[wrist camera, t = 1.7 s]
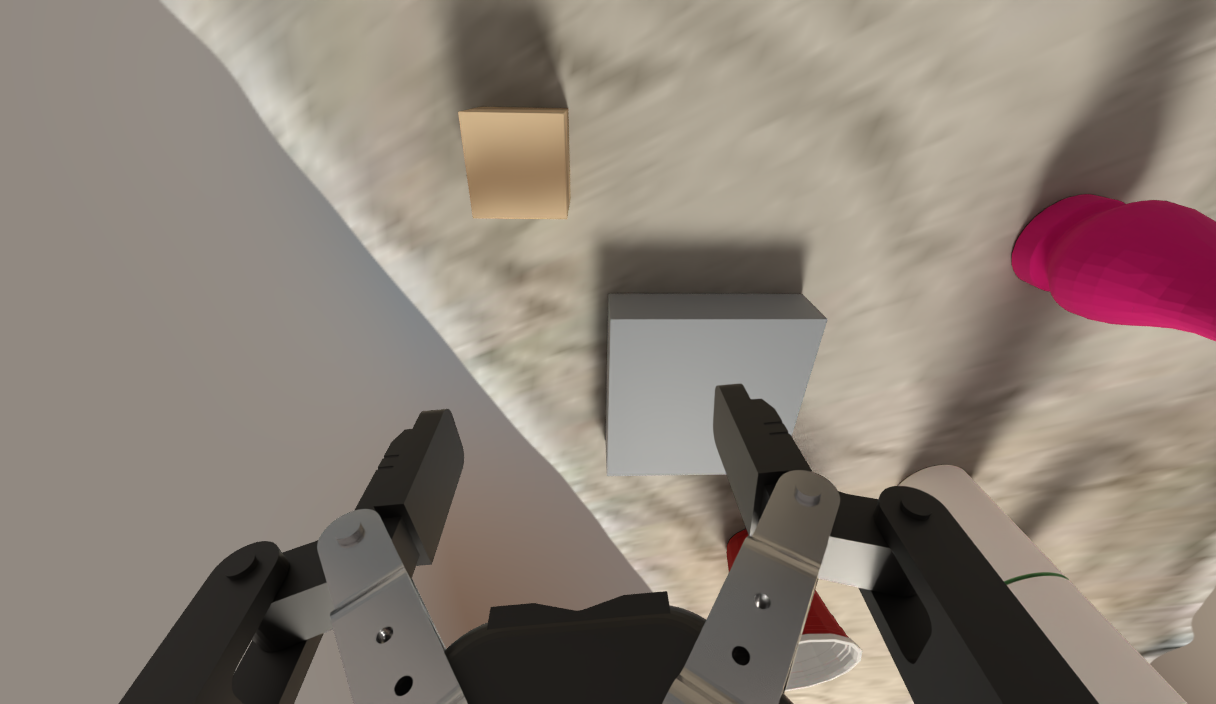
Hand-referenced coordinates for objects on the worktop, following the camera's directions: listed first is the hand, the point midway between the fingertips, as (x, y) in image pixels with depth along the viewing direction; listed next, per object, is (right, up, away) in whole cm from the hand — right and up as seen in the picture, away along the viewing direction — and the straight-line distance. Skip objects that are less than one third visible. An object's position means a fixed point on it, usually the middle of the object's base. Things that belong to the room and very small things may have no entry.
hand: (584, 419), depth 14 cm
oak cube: (-4, +14, +13) cm, 20 cm away
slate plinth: (+8, 0, +22) cm, 23 cm away
